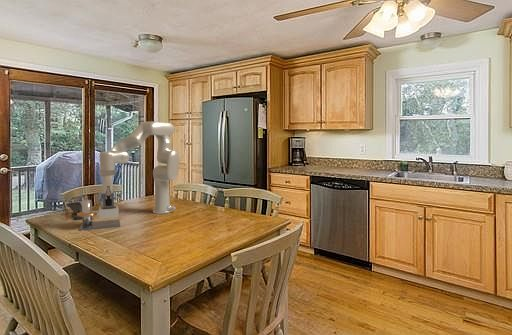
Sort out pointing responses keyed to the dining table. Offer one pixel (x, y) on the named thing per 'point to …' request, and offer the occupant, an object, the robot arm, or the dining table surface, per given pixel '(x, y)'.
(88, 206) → the grey boxy fixture
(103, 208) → the grey block
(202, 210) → the dining table surface
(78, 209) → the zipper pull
